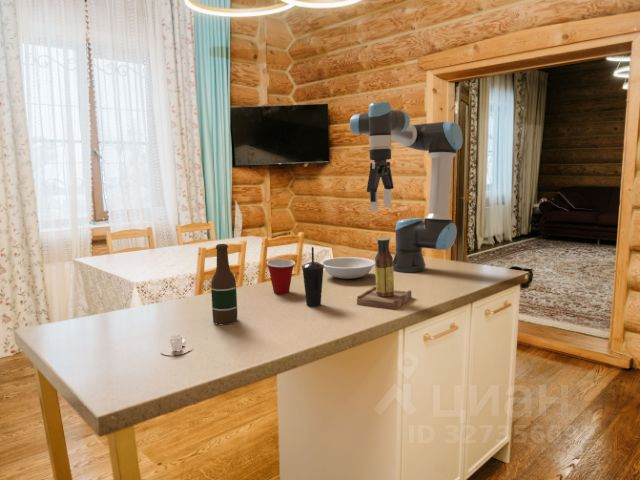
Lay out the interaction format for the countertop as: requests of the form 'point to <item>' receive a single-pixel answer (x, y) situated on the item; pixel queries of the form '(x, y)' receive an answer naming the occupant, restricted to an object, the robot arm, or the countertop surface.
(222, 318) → the beer bottle
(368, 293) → the board
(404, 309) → the countertop surface
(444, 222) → the robot arm
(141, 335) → the countertop surface
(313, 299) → the drinking cup
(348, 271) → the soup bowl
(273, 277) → the plastic cup
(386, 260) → the sauce bottle
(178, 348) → the teacup and saucer
